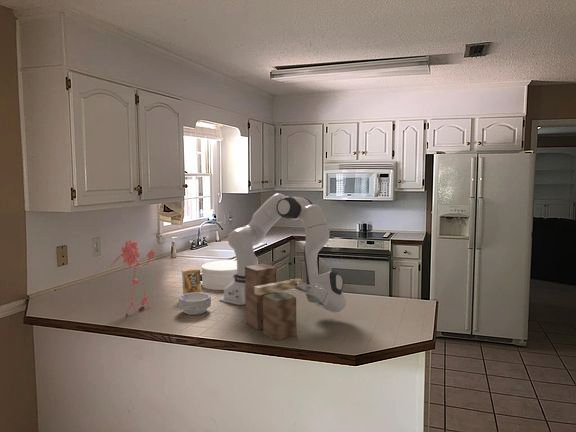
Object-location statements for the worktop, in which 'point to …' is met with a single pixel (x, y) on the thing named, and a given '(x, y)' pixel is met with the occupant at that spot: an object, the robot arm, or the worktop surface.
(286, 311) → the low stand
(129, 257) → the pink flowering sprig
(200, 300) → the paper bowls
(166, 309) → the worktop surface
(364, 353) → the worktop surface
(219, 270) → the plate stack
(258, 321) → the tall stand
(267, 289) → the beech bar
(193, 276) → the candy box
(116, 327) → the worktop surface
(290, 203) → the robot arm
